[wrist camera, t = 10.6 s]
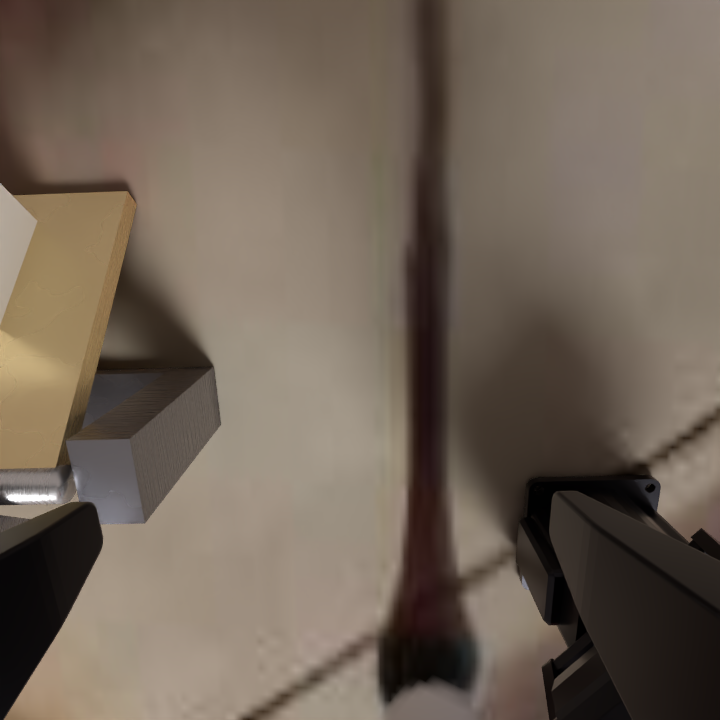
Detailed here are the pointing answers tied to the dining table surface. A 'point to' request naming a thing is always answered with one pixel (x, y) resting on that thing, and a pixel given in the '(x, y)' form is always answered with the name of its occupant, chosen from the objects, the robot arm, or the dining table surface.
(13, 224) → the cube
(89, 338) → the trapdoor
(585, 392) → the dining table surface
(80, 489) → the frame
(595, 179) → the dining table surface
